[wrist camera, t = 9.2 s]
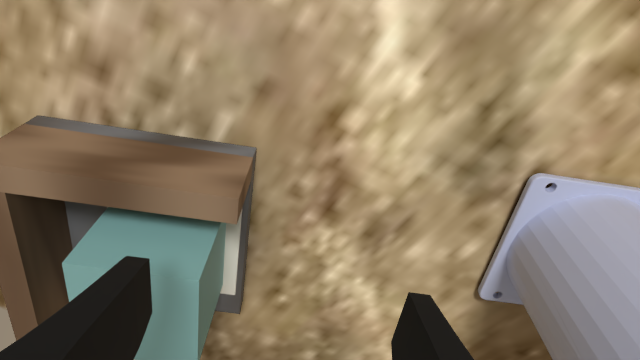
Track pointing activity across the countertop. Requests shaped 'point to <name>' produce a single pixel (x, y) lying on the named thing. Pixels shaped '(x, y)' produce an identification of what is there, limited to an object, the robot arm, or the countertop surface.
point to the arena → (108, 201)
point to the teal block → (158, 273)
